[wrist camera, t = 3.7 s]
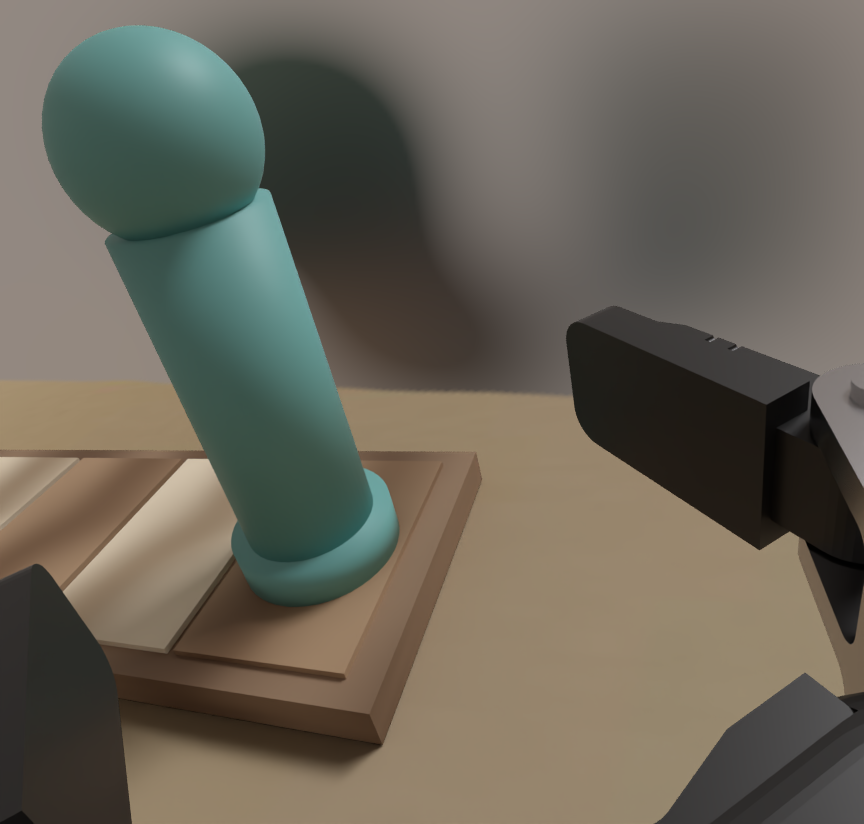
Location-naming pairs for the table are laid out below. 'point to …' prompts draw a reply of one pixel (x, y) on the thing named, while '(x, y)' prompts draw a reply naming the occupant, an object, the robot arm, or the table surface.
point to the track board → (230, 584)
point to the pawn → (220, 301)
